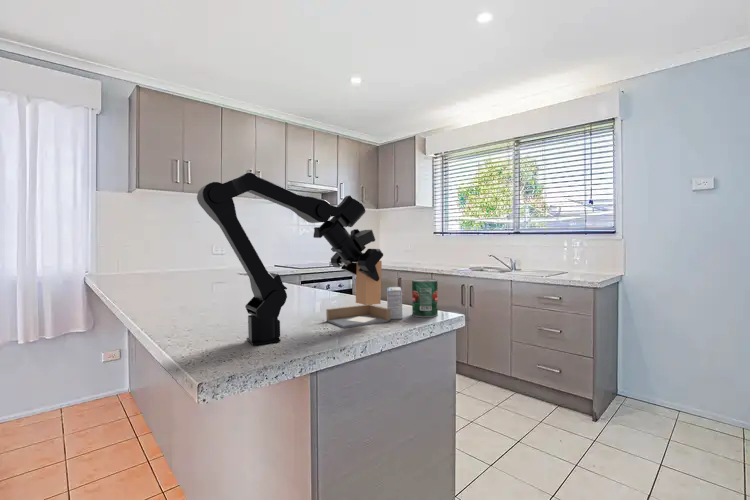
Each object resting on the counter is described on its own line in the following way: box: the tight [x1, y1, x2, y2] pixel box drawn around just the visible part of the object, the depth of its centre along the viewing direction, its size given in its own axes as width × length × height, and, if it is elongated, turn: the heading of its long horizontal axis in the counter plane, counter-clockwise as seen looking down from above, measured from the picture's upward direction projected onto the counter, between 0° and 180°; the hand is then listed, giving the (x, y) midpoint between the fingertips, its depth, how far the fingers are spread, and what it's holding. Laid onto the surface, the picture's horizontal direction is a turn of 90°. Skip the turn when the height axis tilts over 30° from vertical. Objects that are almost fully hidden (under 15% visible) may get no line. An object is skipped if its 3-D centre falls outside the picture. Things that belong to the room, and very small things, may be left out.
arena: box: [325, 304, 391, 329], centre depth 116 cm, size 15×11×4 cm
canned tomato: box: [411, 278, 439, 318], centre depth 124 cm, size 8×8×11 cm
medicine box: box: [386, 286, 403, 320], centre depth 123 cm, size 8×4×9 cm, turn 179°
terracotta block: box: [355, 260, 383, 305], centre depth 112 cm, size 5×5×12 cm
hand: (372, 279), depth 113 cm, fingers closed on terracotta block, 5 cm apart
